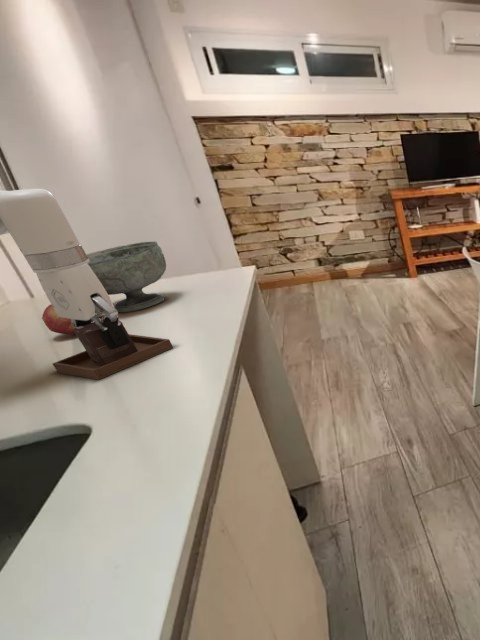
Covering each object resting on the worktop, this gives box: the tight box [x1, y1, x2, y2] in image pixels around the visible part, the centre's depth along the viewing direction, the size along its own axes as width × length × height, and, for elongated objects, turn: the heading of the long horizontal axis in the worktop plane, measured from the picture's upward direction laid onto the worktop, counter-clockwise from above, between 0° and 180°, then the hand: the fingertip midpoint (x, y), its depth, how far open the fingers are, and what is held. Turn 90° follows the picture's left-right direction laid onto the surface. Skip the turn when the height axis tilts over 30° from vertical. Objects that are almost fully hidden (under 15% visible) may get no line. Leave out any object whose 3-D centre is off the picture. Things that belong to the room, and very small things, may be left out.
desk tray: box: [51, 333, 174, 381], centre depth 96 cm, size 13×13×2 cm
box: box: [73, 318, 138, 366], centre depth 95 cm, size 6×6×7 cm
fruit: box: [41, 304, 93, 336], centre depth 110 cm, size 8×8×8 cm
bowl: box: [86, 241, 167, 313], centre depth 123 cm, size 20×19×15 cm
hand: (107, 343), depth 95 cm, fingers closed on box, 6 cm apart
